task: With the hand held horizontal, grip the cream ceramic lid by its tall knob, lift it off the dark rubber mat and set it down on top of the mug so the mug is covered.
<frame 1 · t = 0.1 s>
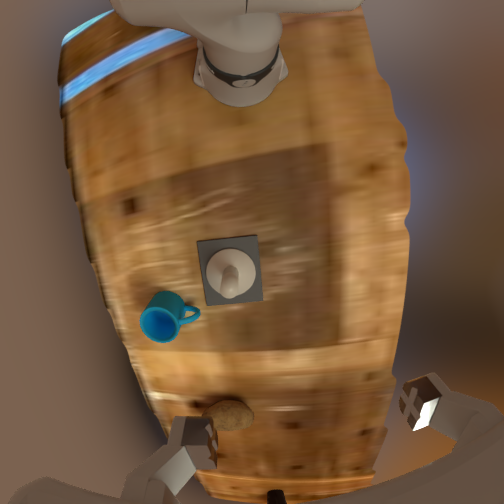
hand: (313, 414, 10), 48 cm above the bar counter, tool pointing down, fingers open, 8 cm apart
mug: (176, 306, 60), on the bar counter
potato: (227, 405, 68), on the bar counter
mat: (231, 271, 59), on the bar counter
lid: (230, 272, 58), resting on mat
coffee mug: (276, 490, 83), on the bar counter
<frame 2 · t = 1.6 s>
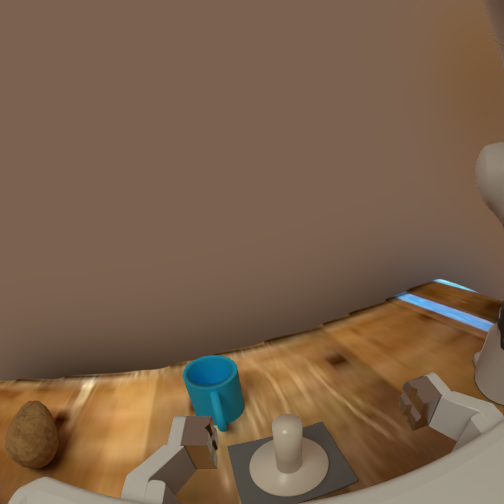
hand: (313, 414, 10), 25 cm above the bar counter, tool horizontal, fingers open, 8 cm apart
mug: (221, 416, 39), on the bar counter
potato: (46, 452, 27), on the bar counter
mat: (289, 467, 28), on the bar counter
lid: (289, 466, 28), resting on mat
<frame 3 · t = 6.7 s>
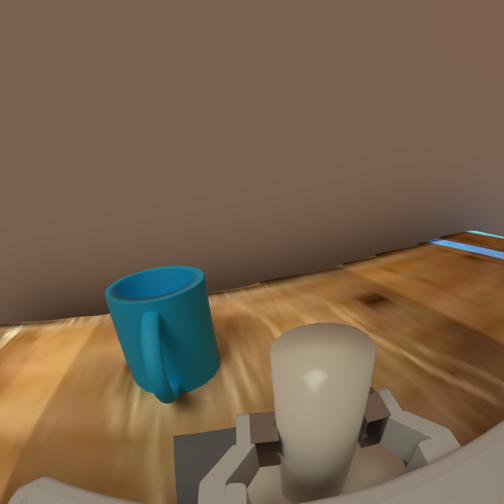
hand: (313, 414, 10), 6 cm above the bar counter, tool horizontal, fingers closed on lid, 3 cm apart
mug: (175, 380, 22), on the bar counter
mat: (311, 490, 11), on the bar counter
lid: (312, 487, 10), resting on mat, touching gripper
when the fingers open (15 cm above the bar counter, at t = 9.9 s): lid drops 1 cm, resting on mug.
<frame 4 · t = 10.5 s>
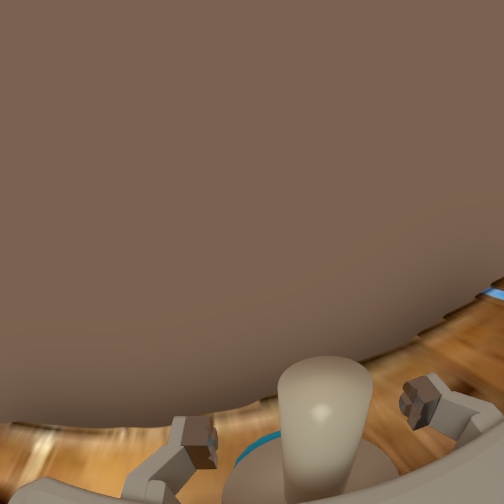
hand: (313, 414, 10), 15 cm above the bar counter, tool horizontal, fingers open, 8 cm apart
lid: (313, 496, 11), point 8 cm above the bar counter, touching mug
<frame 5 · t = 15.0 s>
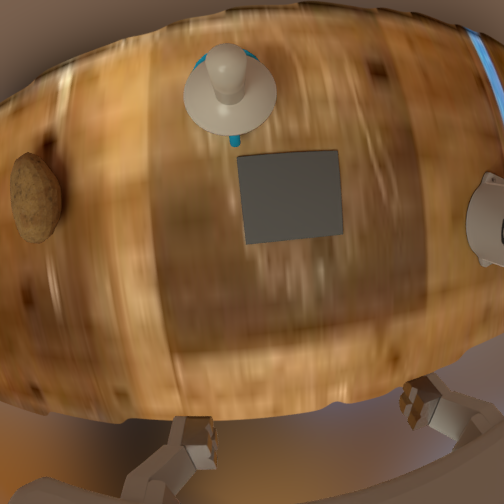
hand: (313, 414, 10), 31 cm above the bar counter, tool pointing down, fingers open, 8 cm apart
potato: (49, 194, 37), on the bar counter
mat: (292, 196, 38), on the bar counter
lid: (230, 93, 27), point 8 cm above the bar counter, touching mug
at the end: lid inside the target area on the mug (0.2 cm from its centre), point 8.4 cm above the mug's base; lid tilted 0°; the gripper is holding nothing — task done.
